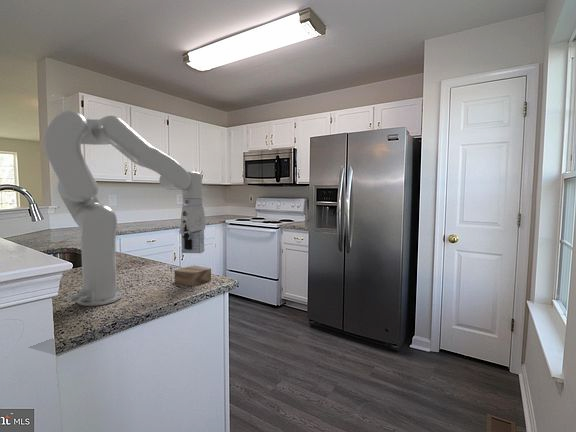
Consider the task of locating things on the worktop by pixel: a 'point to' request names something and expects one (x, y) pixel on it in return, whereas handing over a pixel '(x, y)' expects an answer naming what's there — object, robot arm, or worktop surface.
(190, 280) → the walnut block
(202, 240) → the medicine box
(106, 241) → the robot arm
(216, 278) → the worktop surface
